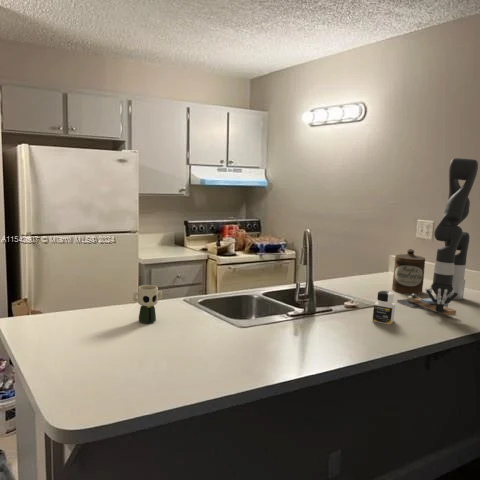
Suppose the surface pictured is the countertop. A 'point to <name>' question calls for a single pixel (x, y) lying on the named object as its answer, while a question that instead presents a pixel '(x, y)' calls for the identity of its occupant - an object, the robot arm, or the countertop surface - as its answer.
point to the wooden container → (408, 273)
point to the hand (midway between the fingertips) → (439, 312)
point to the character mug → (147, 302)
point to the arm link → (431, 306)
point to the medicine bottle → (384, 308)
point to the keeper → (429, 301)
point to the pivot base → (407, 303)
